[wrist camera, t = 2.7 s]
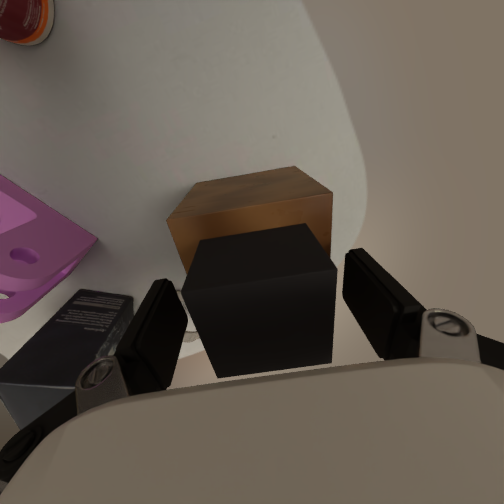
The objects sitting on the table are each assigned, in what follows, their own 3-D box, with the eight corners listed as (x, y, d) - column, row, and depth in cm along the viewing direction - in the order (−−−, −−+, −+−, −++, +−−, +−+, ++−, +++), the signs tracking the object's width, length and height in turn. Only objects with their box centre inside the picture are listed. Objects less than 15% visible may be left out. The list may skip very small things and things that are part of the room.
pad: (306, 222, 10) (338, 268, 7) (308, 302, 13) (332, 363, 10) (199, 239, 11) (180, 292, 7) (223, 314, 13) (217, 379, 10)
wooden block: (295, 165, 17) (333, 192, 10) (299, 252, 21) (328, 313, 14) (196, 182, 17) (165, 220, 10) (219, 264, 21) (208, 330, 14)
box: (137, 349, 27) (92, 446, 19) (90, 345, 26) (21, 443, 18) (135, 295, 23) (75, 390, 14) (78, 287, 22) (-21, 384, 13)
